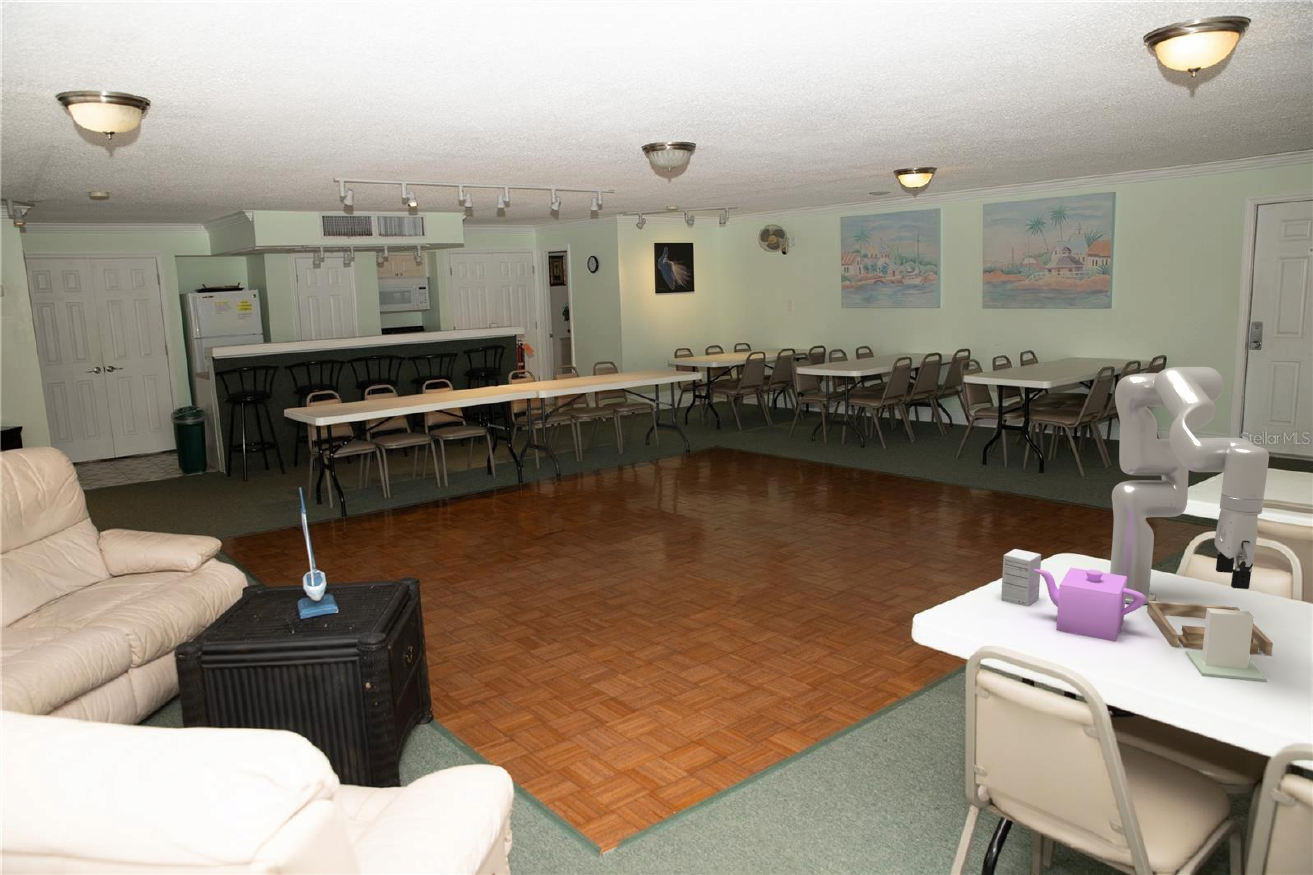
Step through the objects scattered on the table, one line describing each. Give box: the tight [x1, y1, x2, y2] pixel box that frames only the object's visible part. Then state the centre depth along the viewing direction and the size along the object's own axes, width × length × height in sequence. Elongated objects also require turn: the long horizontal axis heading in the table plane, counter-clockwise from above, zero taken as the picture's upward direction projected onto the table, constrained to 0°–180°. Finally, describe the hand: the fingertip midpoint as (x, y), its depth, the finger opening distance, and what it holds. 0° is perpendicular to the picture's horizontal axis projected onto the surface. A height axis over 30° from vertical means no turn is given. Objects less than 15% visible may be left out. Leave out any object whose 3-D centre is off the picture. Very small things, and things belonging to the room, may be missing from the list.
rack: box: [1146, 600, 1273, 656], centre depth 210 cm, size 20×22×3 cm
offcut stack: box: [1178, 624, 1260, 655], centre depth 202 cm, size 15×5×4 cm, turn 74°
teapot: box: [1034, 567, 1146, 643], centre depth 215 cm, size 15×25×14 cm, turn 56°
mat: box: [1184, 649, 1268, 682], centre depth 192 cm, size 12×12×1 cm
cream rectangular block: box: [1201, 608, 1254, 669], centre depth 191 cm, size 8×3×12 cm, turn 74°
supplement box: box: [1000, 548, 1042, 607], centre depth 233 cm, size 7×7×13 cm
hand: (1231, 579), depth 189 cm, fingers open, 9 cm apart
